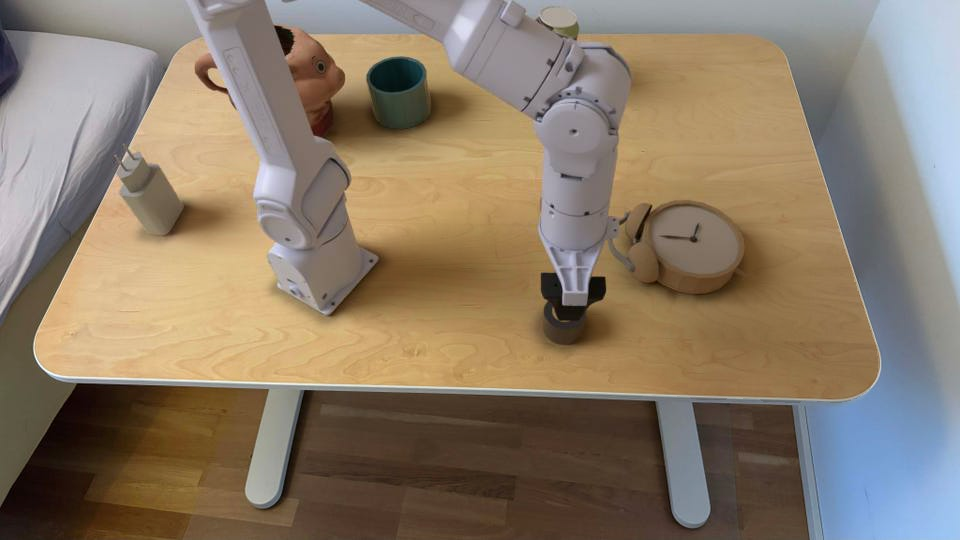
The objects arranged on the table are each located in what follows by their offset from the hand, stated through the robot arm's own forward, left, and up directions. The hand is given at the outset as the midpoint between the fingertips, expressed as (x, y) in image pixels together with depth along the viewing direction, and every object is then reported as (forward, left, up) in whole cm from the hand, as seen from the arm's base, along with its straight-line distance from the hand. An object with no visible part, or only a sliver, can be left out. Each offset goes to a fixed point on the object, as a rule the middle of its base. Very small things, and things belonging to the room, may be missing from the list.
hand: (567, 284), depth 66 cm
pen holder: (+20, +37, -8) cm, 43 cm away
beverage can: (+34, +21, -8) cm, 41 cm away
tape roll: (0, 0, -8) cm, 8 cm away
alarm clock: (+15, -6, -8) cm, 18 cm away
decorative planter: (+9, +49, -8) cm, 51 cm away
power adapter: (-12, +51, -8) cm, 53 cm away
